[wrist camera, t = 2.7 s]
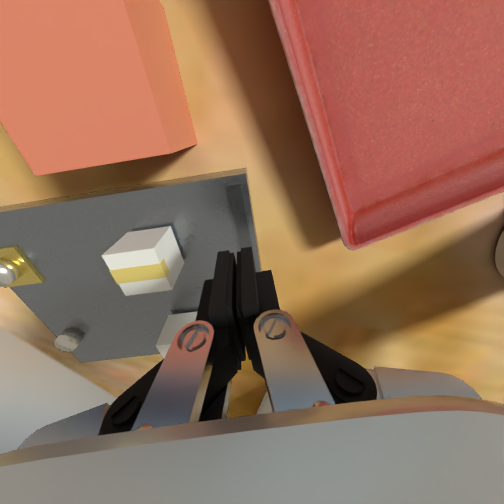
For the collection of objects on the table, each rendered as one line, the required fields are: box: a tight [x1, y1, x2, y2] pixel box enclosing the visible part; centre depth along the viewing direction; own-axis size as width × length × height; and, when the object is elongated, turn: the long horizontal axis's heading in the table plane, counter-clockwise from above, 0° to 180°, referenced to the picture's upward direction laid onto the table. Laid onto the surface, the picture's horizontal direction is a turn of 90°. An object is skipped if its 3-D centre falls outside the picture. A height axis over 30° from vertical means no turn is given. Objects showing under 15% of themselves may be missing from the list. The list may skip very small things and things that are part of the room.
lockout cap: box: [0, 0, 197, 176], centre depth 10 cm, size 6×6×6 cm
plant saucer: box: [268, 0, 504, 250], centre depth 10 cm, size 18×18×3 cm
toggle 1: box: [101, 226, 184, 296], centre depth 14 cm, size 3×3×3 cm
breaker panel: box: [0, 168, 262, 362], centre depth 18 cm, size 20×16×3 cm
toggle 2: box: [156, 312, 197, 359], centre depth 18 cm, size 3×3×3 cm
